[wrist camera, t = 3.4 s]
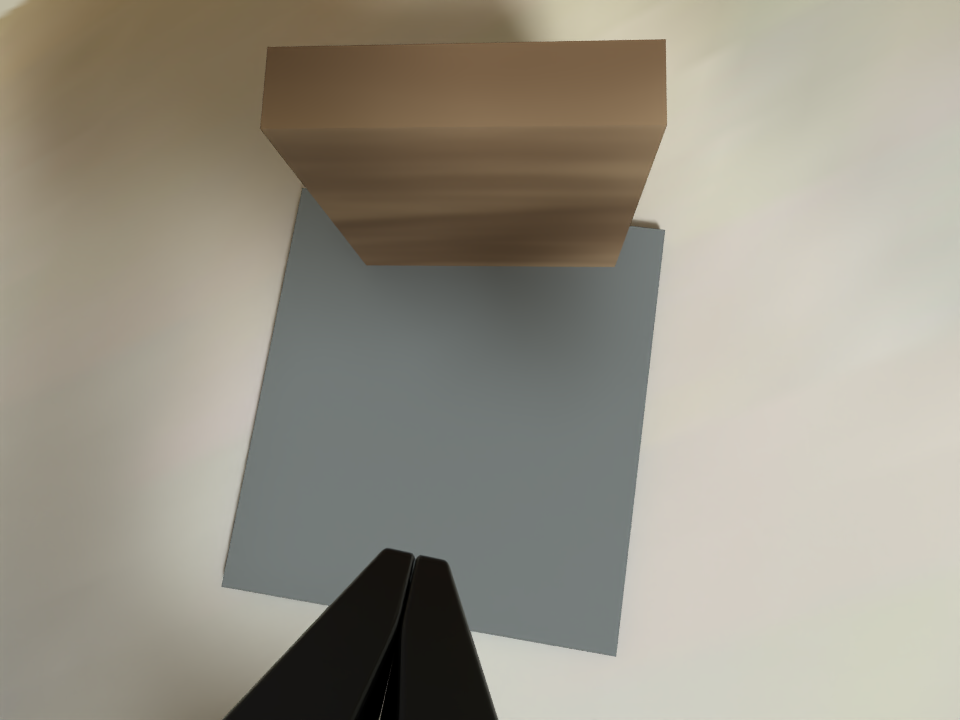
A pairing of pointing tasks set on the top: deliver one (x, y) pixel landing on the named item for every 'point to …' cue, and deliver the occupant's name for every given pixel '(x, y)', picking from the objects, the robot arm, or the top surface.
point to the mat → (453, 432)
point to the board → (472, 146)
